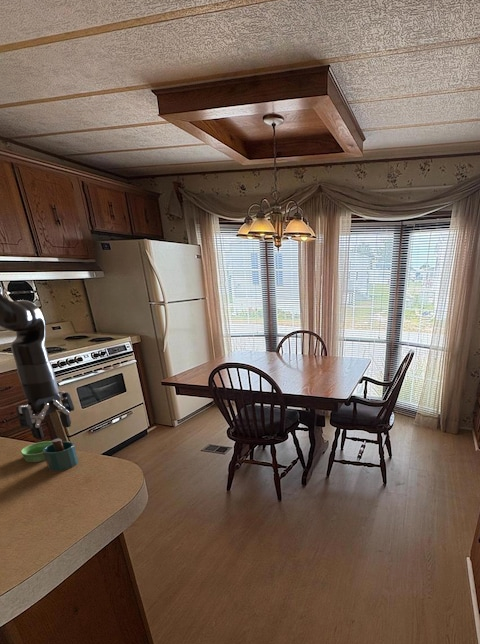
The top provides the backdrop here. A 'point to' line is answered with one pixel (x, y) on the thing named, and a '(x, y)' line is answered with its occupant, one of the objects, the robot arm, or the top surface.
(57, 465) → the cup
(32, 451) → the ramekin
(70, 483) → the top surface
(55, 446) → the brown cylinder rod
